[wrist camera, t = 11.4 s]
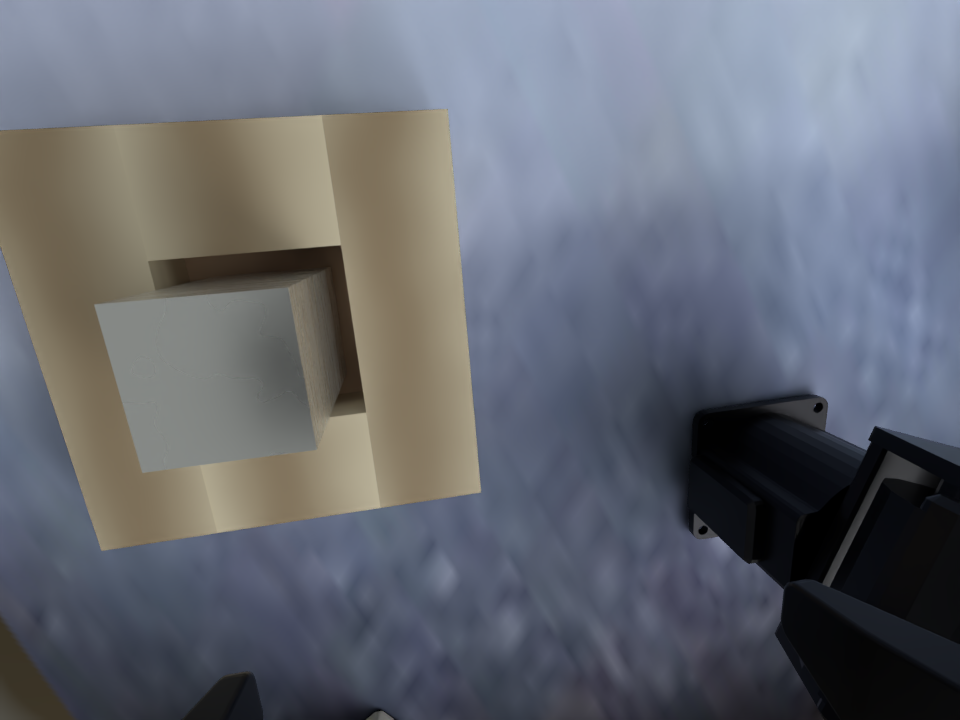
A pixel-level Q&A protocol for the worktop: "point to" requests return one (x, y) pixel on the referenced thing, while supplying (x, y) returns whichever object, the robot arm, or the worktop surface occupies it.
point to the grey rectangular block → (227, 366)
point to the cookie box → (379, 716)
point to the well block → (244, 250)
